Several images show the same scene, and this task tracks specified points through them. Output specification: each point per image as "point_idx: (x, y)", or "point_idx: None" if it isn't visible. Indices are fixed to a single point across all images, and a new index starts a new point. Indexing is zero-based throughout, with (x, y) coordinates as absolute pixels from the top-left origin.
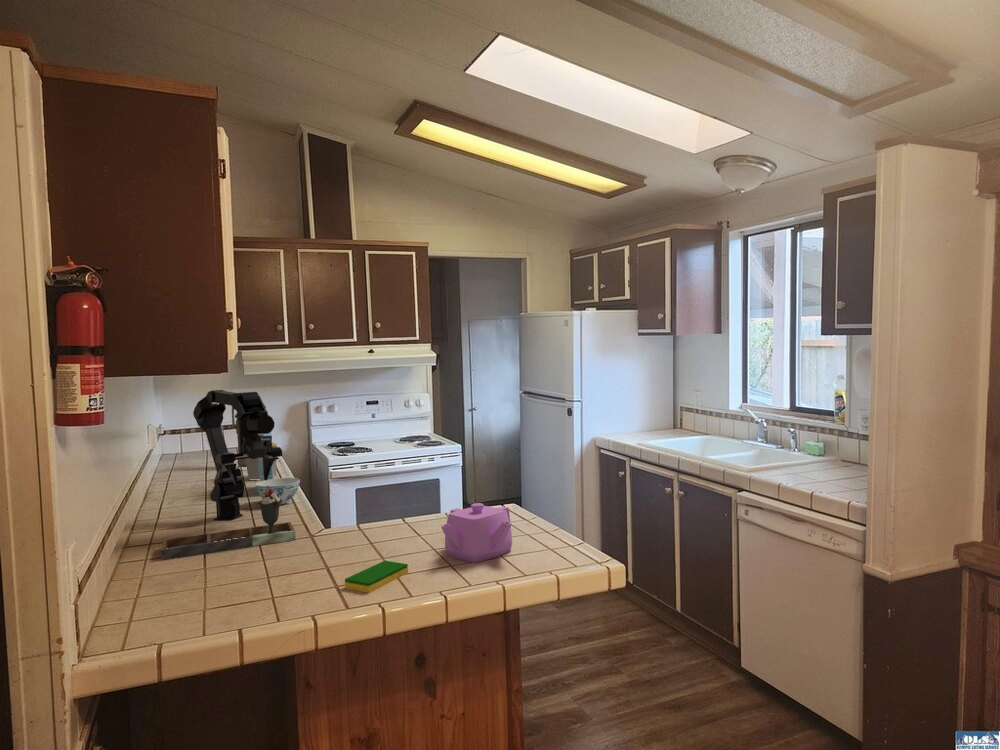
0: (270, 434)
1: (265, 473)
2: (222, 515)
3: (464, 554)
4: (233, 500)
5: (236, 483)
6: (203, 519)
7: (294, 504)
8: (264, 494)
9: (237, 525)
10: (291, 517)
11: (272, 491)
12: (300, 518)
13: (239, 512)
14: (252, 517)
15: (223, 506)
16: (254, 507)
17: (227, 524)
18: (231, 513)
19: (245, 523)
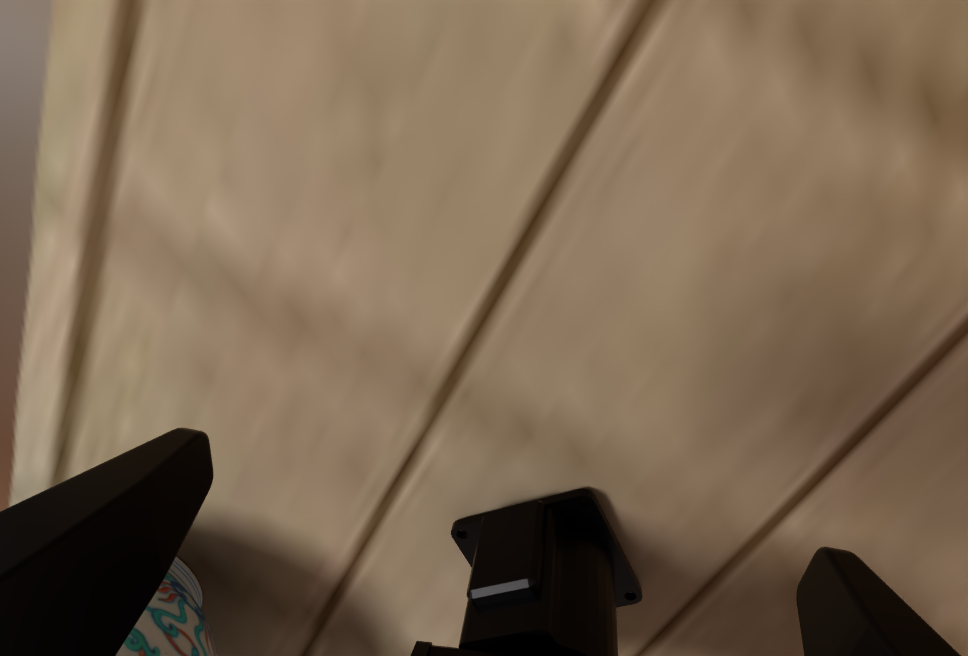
0: None
1: (105, 555)
2: (607, 567)
3: None
4: (525, 627)
5: (859, 573)
6: (660, 651)
7: (63, 478)
8: (199, 651)
9: (644, 316)
10: (199, 134)
11: None
12: (143, 6)
13: (487, 528)
14: (429, 429)
15: (603, 623)
16: (296, 622)
17: (665, 414)
18: (558, 537)
19: (566, 315)
